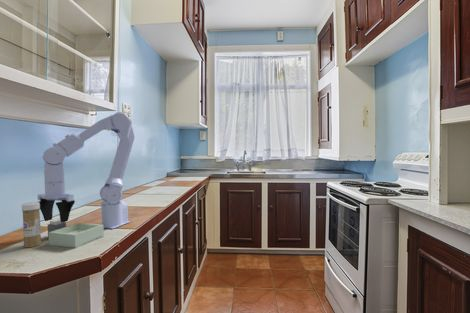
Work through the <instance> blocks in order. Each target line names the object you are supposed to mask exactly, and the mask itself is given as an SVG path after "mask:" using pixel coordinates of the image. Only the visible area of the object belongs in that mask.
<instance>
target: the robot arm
mask: <svg viewBox="0 0 470 313" xmlns="http://www.w3.org/2000/svg"><path fill="white" fill-rule="evenodd" d="M132 123H133V121H132V119H131V118H130V116H128V114H127V113H125V112H123V111H118V112H115V113H114V114H111V115H108V116H107V117H105V118H102V119H100V120H98V121H96V122H95V123H94V124H92V125H90V126H89V127H88V128H86V129H85V130H84V131H82V132H80V133H78V134H76V133H72V134H67V135H65V136H64V137H65V138H63V139H62V140H60V141H59V142H57V143H56V142H55V143H53V144H52V147H48V148H47V149H45V150H44V152H43V155H42V160H43V161H44V165H43V167H44V169H43V175H44V178H43V180H44V193H40V194H37V200H38V202H39V203H40V208H39V209H40V210H39V211H40V212H41V214H42V217H43V220H44V222H47V221H49V222H50V221H53V210H54V204H55V205H56V207H57V209H58V213H59V219H60V220H61V222H66V223H67V222H68V221H69V218H70V214H71V210H72V208H73V206H74V204H75V202H76V201H75V198H74V194H68V193H66V190H65V189H66V188H65V185H66V184H65V169H64V161H65V158H66V157H67V158H68V157H70V156H71V155H74V153H76V152H77V151H79V150H81V149H82V148H84V145H85V142H86V141H88V140H89V139H91V138H93V137H94V136H96V135H97V134H99V133H100V132H102V131H108V130H112V132H114V133H115V134H116V136H117V137H118V138H119V142H118V146H117V148H116V152H115V156H114V159H113V162H112V166H111V169H110V172H109V175H108V178H106V180H105V183H104V185H103V186H102V187H101V188H100V190H99V197H100V198H101V199H102V201H101V203H100V207H101V209H100V210H101V225H103V228H104V229H112V230H113V229H115V228H118V227H121V226H124V225H126V224H128V223H130V222H131V221H130V220H129V210H128V209H129V208H128V204H127V202H125V200H124V201H123V200H122V198H123V186H124V185H123V180H124V176H125V172H126V168H127V166H128V161H129V158H130V154H131V152H132V149H133V145H134V141H135V132H134V129H133V126H132ZM56 201H57V202H56Z"/></svg>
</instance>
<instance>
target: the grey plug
mask: <svg viewBox="0 0 470 313" xmlns="http://www.w3.org/2000/svg"><path fill="white" fill-rule="evenodd" d="M64 227H67V221H66V222H61V220H60V218H57V219H54V220H49V223H48V224H47V238H48V239H49V233H48V232H51V231H55V230H58V229H61V228H64Z"/></svg>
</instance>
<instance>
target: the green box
mask: <svg viewBox="0 0 470 313" xmlns="http://www.w3.org/2000/svg"><path fill="white" fill-rule="evenodd" d="M104 229H105V228H103V225H102V224H97V223H86V222H85V223H84V222H78V223H75V224H70V225H68V226H67V225H66V227H64V228H61V229H58V230H55V231H51V232H48V231H47V234H48V233H49V238H48V245H49V246H55V247H63V248H72V249H76V248H77V249H78V248H79V247H82V246H84V245H86V244H88V243H91V242H94V241H96V240H98V239H101V238H103V237H104V236H105V234H104Z"/></svg>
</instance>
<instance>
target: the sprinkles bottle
mask: <svg viewBox="0 0 470 313" xmlns="http://www.w3.org/2000/svg"><path fill="white" fill-rule="evenodd" d="M21 211H22V221H23V222H22V232H23V247H24V248H33V247H37V246H39V245H41V244H42V238H41V236H42V235H41V234H42V231H41V216H40V214H41V213H40V212H41V210H40V203H39V201H32V202H26V203H25V202H24V203H22V204H21Z"/></svg>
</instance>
